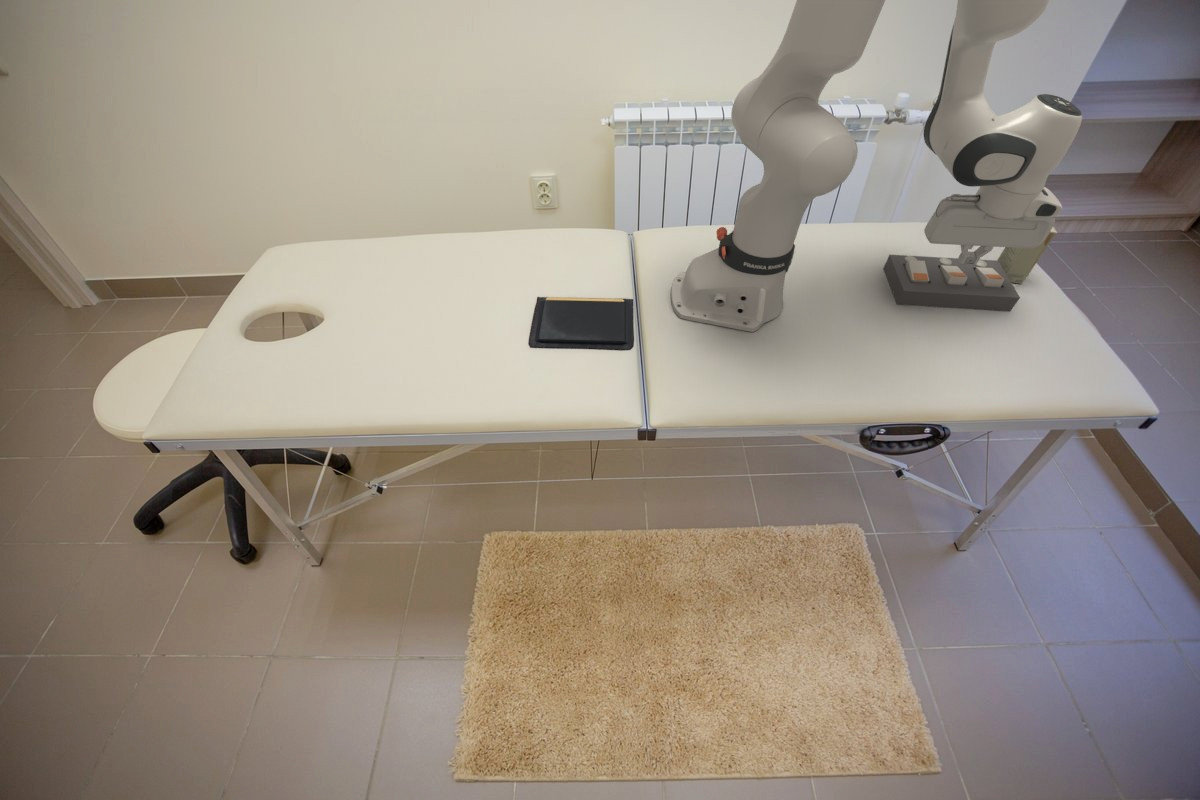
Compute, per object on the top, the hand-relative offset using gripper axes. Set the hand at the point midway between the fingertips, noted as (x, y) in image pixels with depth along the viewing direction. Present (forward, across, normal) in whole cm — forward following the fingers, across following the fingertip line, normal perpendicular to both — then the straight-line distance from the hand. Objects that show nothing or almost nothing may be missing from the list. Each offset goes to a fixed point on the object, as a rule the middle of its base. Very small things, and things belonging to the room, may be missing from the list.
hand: (966, 262), depth 110 cm
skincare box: (+8, +15, +8) cm, 19 cm away
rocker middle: (+4, 0, +2) cm, 5 cm away
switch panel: (+8, 0, +2) cm, 8 cm away
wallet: (+9, -74, -15) cm, 76 cm away
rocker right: (+4, +7, +2) cm, 8 cm away
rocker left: (+4, -7, +2) cm, 9 cm away
